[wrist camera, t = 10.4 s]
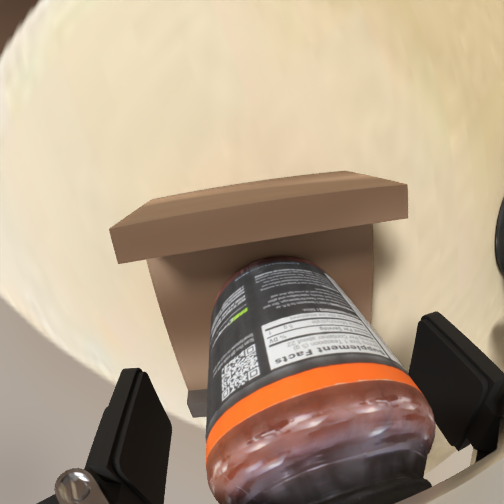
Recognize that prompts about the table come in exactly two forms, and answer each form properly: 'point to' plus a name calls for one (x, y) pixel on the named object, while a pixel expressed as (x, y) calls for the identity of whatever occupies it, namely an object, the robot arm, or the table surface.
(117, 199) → the table surface
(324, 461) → the supplement bottle
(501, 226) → the milk frother
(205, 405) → the shelf
